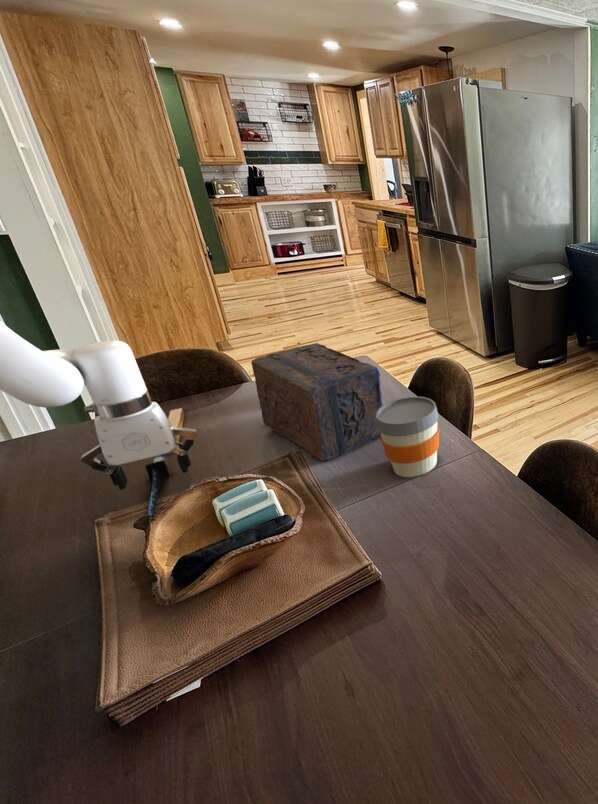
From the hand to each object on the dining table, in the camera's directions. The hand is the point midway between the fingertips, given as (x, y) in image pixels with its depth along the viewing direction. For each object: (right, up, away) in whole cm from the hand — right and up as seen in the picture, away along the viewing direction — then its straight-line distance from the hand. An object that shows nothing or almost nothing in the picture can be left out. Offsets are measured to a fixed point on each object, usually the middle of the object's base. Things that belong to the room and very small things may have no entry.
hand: (155, 477), depth 97 cm
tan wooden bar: (-16, +6, +22) cm, 28 cm away
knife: (0, -3, +1) cm, 3 cm away
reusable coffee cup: (+50, 0, +9) cm, 51 cm away
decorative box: (+23, +6, +23) cm, 33 cm away
